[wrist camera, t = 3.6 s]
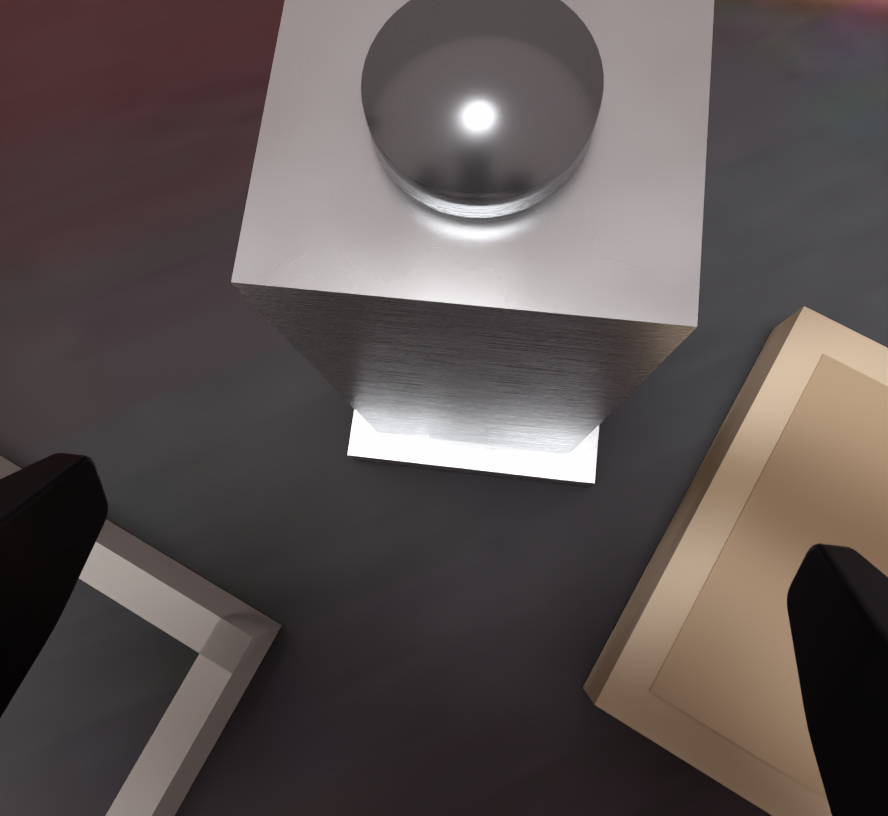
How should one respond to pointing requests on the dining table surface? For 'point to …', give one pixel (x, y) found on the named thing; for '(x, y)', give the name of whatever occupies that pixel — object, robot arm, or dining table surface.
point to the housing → (482, 217)
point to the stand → (755, 566)
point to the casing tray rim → (210, 678)
